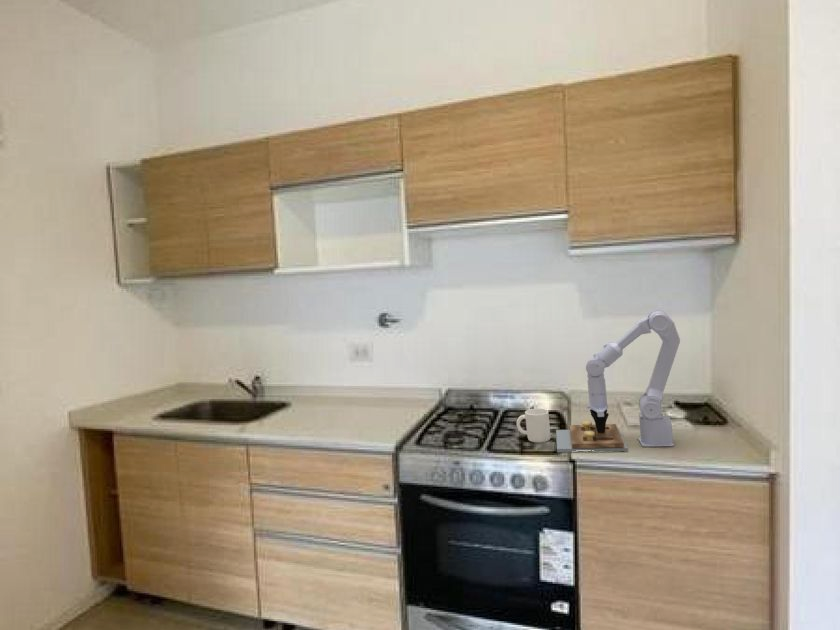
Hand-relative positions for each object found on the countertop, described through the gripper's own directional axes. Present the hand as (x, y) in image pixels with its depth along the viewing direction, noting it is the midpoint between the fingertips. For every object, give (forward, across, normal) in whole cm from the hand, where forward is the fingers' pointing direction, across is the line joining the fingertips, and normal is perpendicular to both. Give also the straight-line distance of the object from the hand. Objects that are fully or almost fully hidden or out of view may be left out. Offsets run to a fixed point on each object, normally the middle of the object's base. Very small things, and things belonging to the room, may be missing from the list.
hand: (600, 431), depth 165 cm
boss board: (+4, 0, -4) cm, 5 cm away
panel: (+2, 0, -2) cm, 3 cm away
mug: (+4, -4, -23) cm, 24 cm away
